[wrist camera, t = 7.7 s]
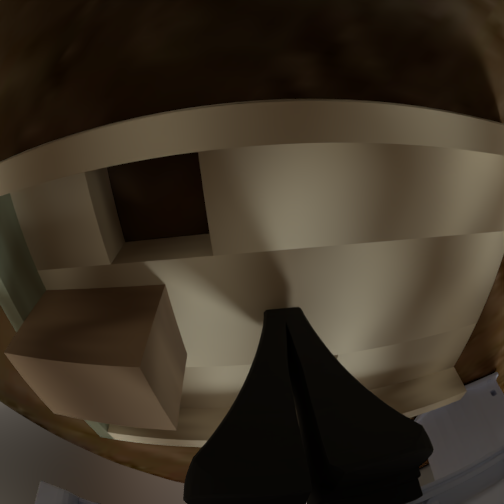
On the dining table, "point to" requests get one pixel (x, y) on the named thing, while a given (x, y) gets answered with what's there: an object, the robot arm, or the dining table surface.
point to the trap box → (279, 240)
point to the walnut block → (104, 355)
